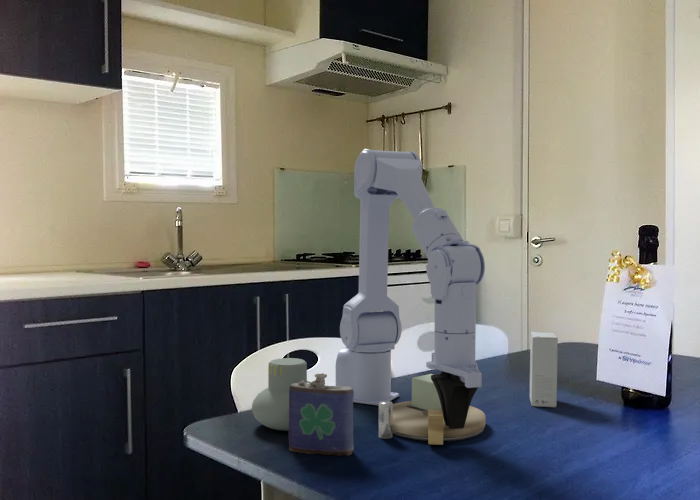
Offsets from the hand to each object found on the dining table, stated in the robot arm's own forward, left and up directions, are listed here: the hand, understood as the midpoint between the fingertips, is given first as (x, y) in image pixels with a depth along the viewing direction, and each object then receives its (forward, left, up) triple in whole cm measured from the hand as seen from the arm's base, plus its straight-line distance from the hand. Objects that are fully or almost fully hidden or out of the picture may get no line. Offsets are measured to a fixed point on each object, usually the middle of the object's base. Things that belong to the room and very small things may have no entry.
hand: (454, 426), depth 94 cm
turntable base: (-6, +7, -2) cm, 9 cm away
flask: (-16, -11, -3) cm, 19 cm away
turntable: (-6, +7, -2) cm, 9 cm away
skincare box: (+7, +28, -3) cm, 29 cm away
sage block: (-7, +10, 0) cm, 12 cm away
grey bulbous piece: (-26, -3, -3) cm, 26 cm away
